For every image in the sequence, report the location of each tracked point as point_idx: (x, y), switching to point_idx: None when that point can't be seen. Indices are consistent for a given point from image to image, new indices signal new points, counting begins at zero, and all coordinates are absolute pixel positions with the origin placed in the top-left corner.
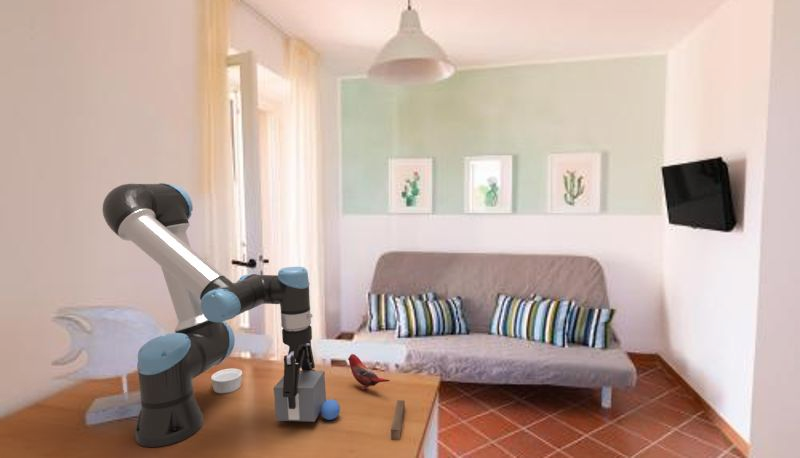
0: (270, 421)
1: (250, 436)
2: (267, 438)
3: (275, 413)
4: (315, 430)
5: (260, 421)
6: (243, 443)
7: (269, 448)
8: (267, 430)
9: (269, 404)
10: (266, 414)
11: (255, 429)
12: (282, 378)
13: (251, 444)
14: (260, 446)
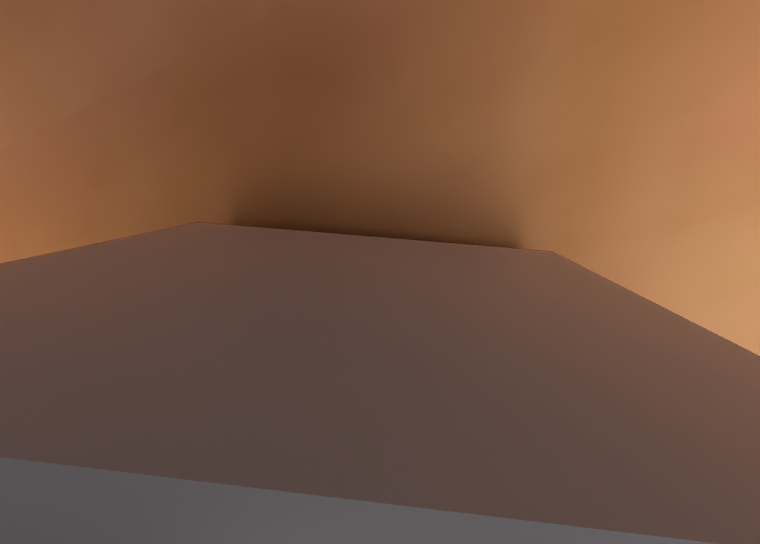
0: (309, 135)
1: (96, 47)
2: (101, 194)
3: (155, 231)
4: None
5: (304, 42)
6: (8, 29)
7: (12, 246)
8: (189, 157)
9: (606, 7)
10: (417, 53)
11: (188, 48)
12: (206, 525)
13: (15, 101)
14: (13, 178)
